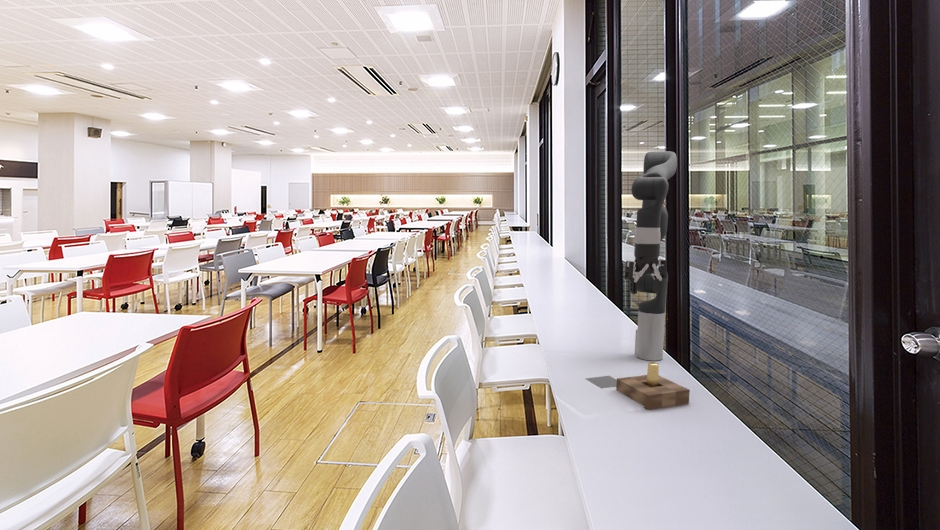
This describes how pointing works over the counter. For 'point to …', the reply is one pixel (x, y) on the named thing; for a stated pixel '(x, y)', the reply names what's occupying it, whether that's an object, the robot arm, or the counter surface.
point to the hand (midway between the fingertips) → (645, 292)
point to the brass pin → (652, 374)
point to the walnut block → (653, 392)
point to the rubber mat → (603, 381)
